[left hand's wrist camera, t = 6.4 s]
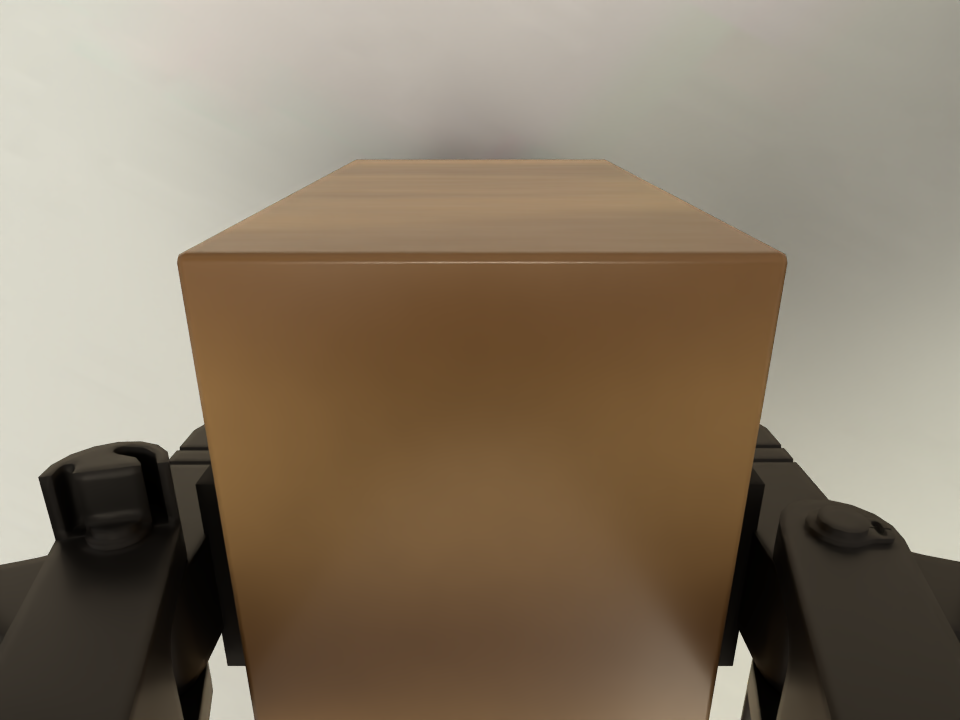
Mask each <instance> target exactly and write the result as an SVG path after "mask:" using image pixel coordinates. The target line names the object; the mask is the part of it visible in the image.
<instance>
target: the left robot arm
mask: <svg viewBox="0 0 960 720" xmlns="http://www.w3.org/2000/svg"><path fill="white" fill-rule="evenodd" d="M38 478H39V482H40V485H41V489H42V492H43V496H44V500H45V503H46V507H47V511H48V514H49V518H50V521H51V525H52V529H53V532H54V536H55V539H56V541H55V543H54V545H53V547H52V548H51V550H50V552H49V554H48V555H47V556H43V557H39V558H35V559H29V560H24V561H19V562H13V563H8V564H3V565H0V720H209V717H210V709H211V702H212V694H213V688H212V681H211V674H210V669H209V664H208V660H209V658H210V656H211V654H212V652H213V650H214V648H215V646H216V644H217V641H218V639H219V637H220V635H221V633H222V636H223V642H224V648H225V653H226V659H227V664H228V666H246V665H245V659H244V653H243V648H242V642H241V636H240V630H239V624H238V618H237V612H236V606H235V600H234V595H233V589H232V583H231V577H230V571H229V565H228V559H227V553H226V547H225V542H224V536H223V530H222V524H221V518H220V512H219V506H218V500H217V494H216V489H215V483H214V477H213V471H212V465H211V459H210V453H209V447H208V441H207V436H206V430H205V424H204V425H203V426H201V427H199V428H197V429H196V430H194V431H193V432H192V434H191V435H190V436H189V437H188V438H187V439H186V441H185V442H184V443H183V444H182V445H181V446H180V451H176V452H175V453H174V455H173V456H172V457H171V458H170V459H169V456H168V452H167V451H166V450H164V449H163V448H161V447H160V446H159V445H156V444H151V443H146V442H141V441H138V442H116V443H111V444H105V445H100V446H95V447H92V448H89V449H86V450H83V451H80V452H77V453H74V454H71V455H69V456H67V457H65V458H64V459H62V460H60V461H58V462H56V463H54V464H52V465H51V466H50V467H49V468H48V469H47V470H46V471H44V472H43V473H42V474H41V475H40V476H39V477H38ZM739 631H740V633H741V635H742V637H743V639H744V641H745V643H746V645H747V647H748V649H749V651H750V654H751V656H752V658H753V659H752V664H751V669H750V674H749V680H748V685H747V690H746V695H745V700H744V706H743V711H742V716H741V720H960V562H958V561H953V560H948V559H942V558H937V557H932V556H926V555H922V554H918V553H914V552H911V551H910V549H909V547H908V545H907V543H906V542H905V540H904V538H903V537H902V536H901V535H900V534H899V533H898V532H897V530H896V529H895V528H894V527H893V526H892V525H890V524H889V523H887V522H886V521H884V520H883V519H881V518H880V517H878V516H876V515H875V514H873V513H870V512H868V511H865V510H863V509H860V508H858V507H855V506H853V505H849V504H845V503H840V502H836V501H831V500H828V498H827V497H826V496H825V495H824V494H823V493H822V492H821V490H820V489H819V488H818V487H817V486H816V485H815V483H814V482H813V481H812V480H811V479H810V478H809V477H808V475H807V474H806V473H805V472H804V471H803V470H802V468H801V467H800V466H799V465H798V464H797V463H796V462H793V458H792V457H791V456H790V455H789V453H788V452H787V451H786V450H785V449H784V448H781V444H780V443H779V442H778V441H777V440H776V438H775V437H774V436H773V435H772V434H771V433H770V431H769V430H768V429H767V428H766V427H764V426H762V425H760V424H759V430H758V436H757V442H756V448H755V453H754V459H753V465H752V471H751V477H750V482H749V488H748V494H747V500H746V506H745V512H744V517H743V523H742V529H741V535H740V541H739V546H738V552H737V558H736V564H735V570H734V576H733V581H732V587H731V593H730V599H729V605H728V610H727V616H726V622H725V628H724V634H723V640H722V645H721V651H720V657H719V663H718V666H733V661H734V656H735V650H736V644H737V639H738V633H739Z"/></svg>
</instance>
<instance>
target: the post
mask: <svg viewBox="0 0 960 720" xmlns="http://www.w3.org/2000/svg"><path fill="white" fill-rule="evenodd" d="M177 265H178V271H179V277H180V282H181V288H182V294H183V300H184V306H185V312H186V318H187V324H188V330H189V335H190V341H191V347H192V353H193V359H194V365H195V371H196V377H197V383H198V388H199V394H200V400H201V406H202V412H203V418H204V424H205V430H206V436H207V441H208V447H209V453H210V459H211V465H212V471H213V477H214V483H215V489H216V494H217V500H218V506H219V512H220V518H221V524H222V530H223V536H224V542H225V547H226V553H227V559H228V565H229V571H230V577H231V583H232V589H233V595H234V600H235V606H236V612H237V618H238V624H239V630H240V636H241V642H242V648H243V653H244V659H245V665H246V671H247V677H248V683H249V689H250V695H251V701H252V706H253V712H254V718H255V720H709V715H710V709H711V704H712V698H713V692H714V686H715V680H716V674H717V669H718V663H719V657H720V651H721V645H722V640H723V634H724V628H725V622H726V616H727V610H728V605H729V599H730V593H731V587H732V581H733V576H734V570H735V564H736V558H737V552H738V546H739V541H740V535H741V529H742V523H743V517H744V512H745V506H746V500H747V494H748V488H749V482H750V477H751V471H752V465H753V459H754V453H755V448H756V442H757V436H758V430H759V424H760V419H761V413H762V407H763V401H764V395H765V389H766V384H767V378H768V372H769V366H770V360H771V355H772V349H773V343H774V337H775V331H776V325H777V320H778V314H779V308H780V302H781V296H782V291H783V285H784V279H785V273H786V267H787V258H786V255H785V254H784V253H782V252H780V251H778V250H776V249H774V248H772V247H771V246H769V245H767V244H765V243H763V242H761V241H759V240H757V239H755V238H753V237H751V236H750V235H748V234H746V233H744V232H742V231H740V230H738V229H736V228H734V227H732V226H730V225H729V224H727V223H725V222H723V221H721V220H719V219H717V218H715V217H713V216H711V215H710V214H708V213H706V212H704V211H702V210H700V209H698V208H696V207H694V206H692V205H690V204H689V203H687V202H685V201H683V200H681V199H679V198H677V197H675V196H673V195H671V194H669V193H668V192H666V191H664V190H662V189H660V188H658V187H656V186H654V185H652V184H650V183H648V182H647V181H645V180H643V179H641V178H639V177H637V176H635V175H633V174H631V173H629V172H627V171H626V170H624V169H622V168H620V167H618V166H616V165H614V164H612V163H610V162H608V161H606V160H355V161H353V162H351V163H349V164H347V165H345V166H343V167H342V168H340V169H338V170H336V171H334V172H332V173H330V174H328V175H327V176H325V177H323V178H321V179H319V180H317V181H315V182H314V183H312V184H310V185H308V186H306V187H304V188H302V189H300V190H299V191H297V192H295V193H293V194H291V195H289V196H287V197H286V198H284V199H282V200H280V201H278V202H276V203H274V204H272V205H271V206H269V207H267V208H265V209H263V210H261V211H259V212H258V213H256V214H254V215H252V216H250V217H248V218H246V219H244V220H243V221H241V222H239V223H237V224H235V225H233V226H231V227H230V228H228V229H226V230H224V231H222V232H220V233H218V234H216V235H215V236H213V237H211V238H209V239H207V240H205V241H203V242H202V243H200V244H198V245H196V246H194V247H192V248H190V249H188V250H187V251H185V252H183V253H181V254H179V256H178V261H177Z"/></svg>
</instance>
